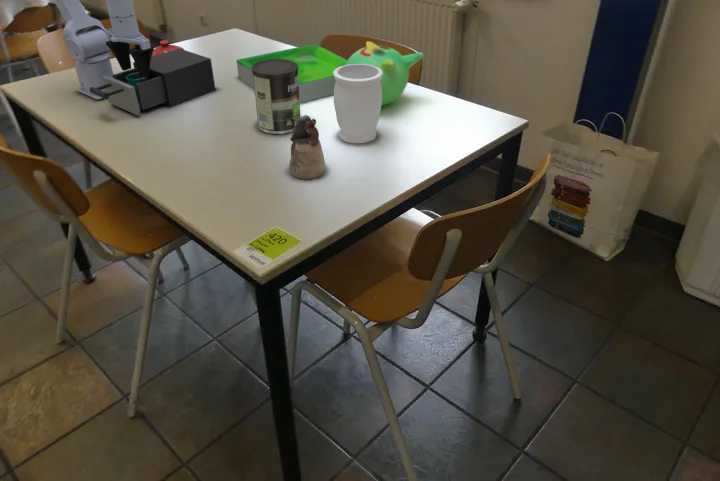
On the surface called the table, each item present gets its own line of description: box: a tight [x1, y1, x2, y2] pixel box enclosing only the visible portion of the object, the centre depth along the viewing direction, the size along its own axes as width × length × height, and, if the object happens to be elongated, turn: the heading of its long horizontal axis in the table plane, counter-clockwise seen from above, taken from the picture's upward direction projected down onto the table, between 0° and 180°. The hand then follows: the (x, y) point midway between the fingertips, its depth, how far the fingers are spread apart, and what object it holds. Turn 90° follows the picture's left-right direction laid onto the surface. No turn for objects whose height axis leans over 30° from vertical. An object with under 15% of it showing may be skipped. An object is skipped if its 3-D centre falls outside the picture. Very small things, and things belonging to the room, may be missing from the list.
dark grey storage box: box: [132, 48, 216, 107], centre depth 147 cm, size 14×13×8 cm
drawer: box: [90, 67, 168, 116], centre depth 139 cm, size 19×12×7 cm, turn 142°
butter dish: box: [151, 39, 185, 57], centre depth 160 cm, size 12×12×8 cm
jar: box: [333, 64, 383, 144], centre depth 125 cm, size 11×10×15 cm
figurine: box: [289, 114, 326, 180], centre depth 113 cm, size 7×7×12 cm
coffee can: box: [251, 59, 302, 135], centre depth 130 cm, size 10×10×14 cm
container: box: [126, 73, 149, 101], centre depth 140 cm, size 5×5×6 cm
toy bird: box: [345, 40, 424, 107], centre depth 140 cm, size 18×17×15 cm
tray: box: [236, 43, 348, 104], centre depth 154 cm, size 25×25×5 cm
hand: (135, 73), depth 138 cm, fingers open, 7 cm apart
